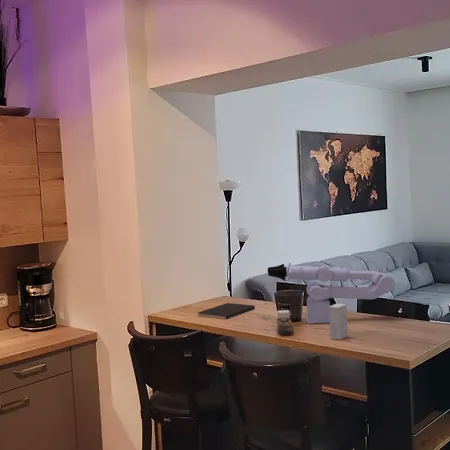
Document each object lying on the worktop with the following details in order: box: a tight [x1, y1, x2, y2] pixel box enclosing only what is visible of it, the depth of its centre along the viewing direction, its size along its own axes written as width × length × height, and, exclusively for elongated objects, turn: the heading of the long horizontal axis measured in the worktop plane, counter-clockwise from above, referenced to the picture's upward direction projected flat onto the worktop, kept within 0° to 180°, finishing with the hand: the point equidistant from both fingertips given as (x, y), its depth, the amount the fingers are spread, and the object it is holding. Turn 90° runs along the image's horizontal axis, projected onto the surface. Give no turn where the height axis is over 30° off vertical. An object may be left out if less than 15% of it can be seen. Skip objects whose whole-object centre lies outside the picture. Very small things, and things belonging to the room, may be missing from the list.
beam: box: [276, 317, 294, 335], centre depth 227 cm, size 6×14×4 cm, turn 178°
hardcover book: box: [197, 302, 256, 320], centre depth 267 cm, size 16×23×2 cm
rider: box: [276, 309, 291, 321], centre depth 232 cm, size 5×4×3 cm
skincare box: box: [329, 303, 349, 341], centre depth 213 cm, size 6×4×12 cm
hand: (267, 271), depth 240 cm, fingers open, 7 cm apart
